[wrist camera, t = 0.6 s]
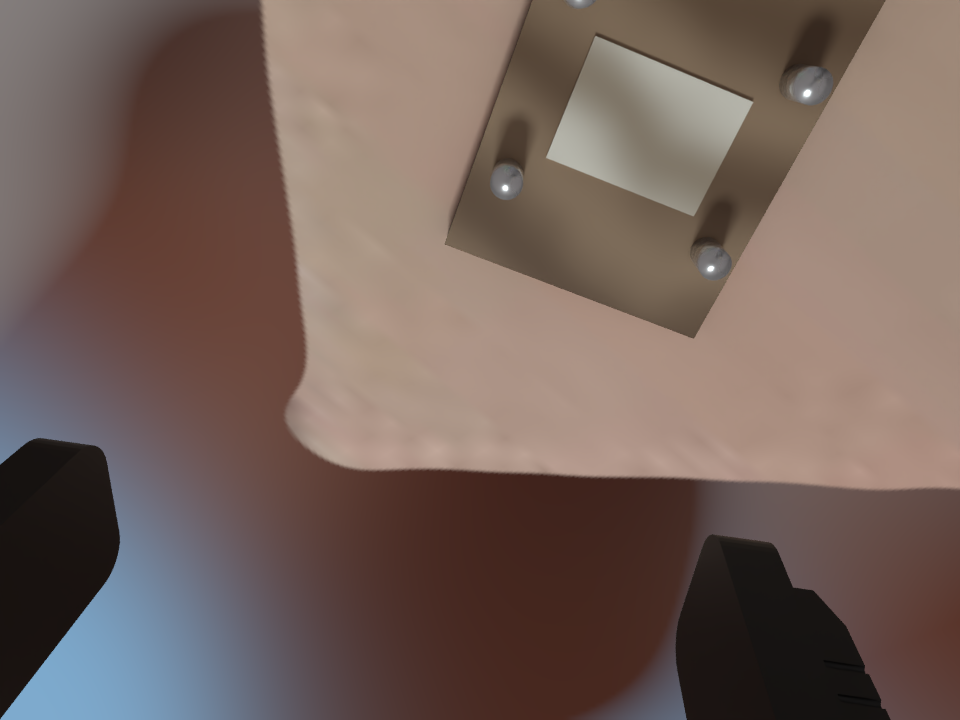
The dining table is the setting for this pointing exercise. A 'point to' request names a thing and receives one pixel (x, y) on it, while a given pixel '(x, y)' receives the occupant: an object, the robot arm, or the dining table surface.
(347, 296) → the dining table surface
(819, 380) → the dining table surface
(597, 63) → the plate
